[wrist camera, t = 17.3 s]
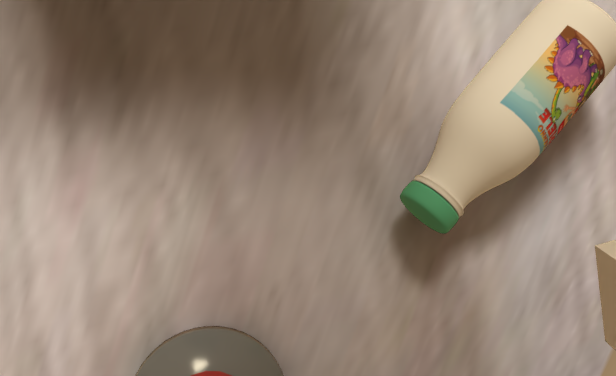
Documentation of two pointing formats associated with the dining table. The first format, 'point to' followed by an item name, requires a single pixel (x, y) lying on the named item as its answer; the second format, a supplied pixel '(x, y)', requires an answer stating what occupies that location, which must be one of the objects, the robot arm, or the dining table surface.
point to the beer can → (211, 373)
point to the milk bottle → (514, 107)
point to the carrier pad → (210, 354)
